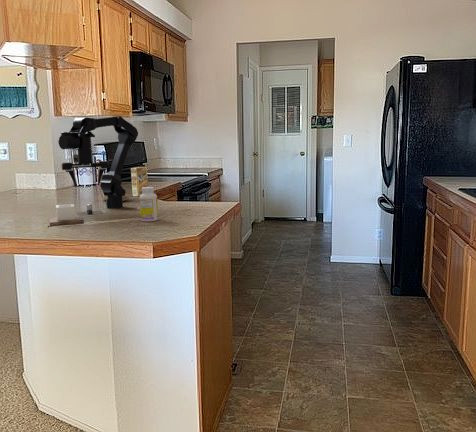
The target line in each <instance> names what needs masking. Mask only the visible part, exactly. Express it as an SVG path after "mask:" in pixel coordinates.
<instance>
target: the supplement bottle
mask: <svg viewBox="0 0 476 432" xmlns="http://www.w3.org/2000/svg"><path fill="white" fill-rule="evenodd" d="M158 207H159V206H158V195H157V194H156V193H155V187H154V186H148V187H143V188H142V194H141V195H140V196H139V208H140V209H139V210H140V211H139V212H140V220H141V221H142V222H147V223H149V222H156V221H158V220H159V209H158Z"/></svg>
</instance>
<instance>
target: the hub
mask: <svg viewBox="0 0 476 432" xmlns="http://www.w3.org/2000/svg"><path fill="white" fill-rule="evenodd" d="M48 220H49V221H48V222H49V227H60V226H71V225H73V226H75V225H82V224H83V225H84V224H85V222H84V218H83V216H81V215H78V214H77V215H76V214H75V219H72V220H60V221H57V216H55V217H54V216H52V217H48Z"/></svg>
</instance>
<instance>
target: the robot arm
mask: <svg viewBox="0 0 476 432" xmlns="http://www.w3.org/2000/svg"><path fill="white" fill-rule="evenodd" d="M111 126H112V127H113V128H114V129H113V130H114V131H115V132H116V133H117V139H118V145H117V148H116V151H115V154H114V158H113V160H112V163H111V165H110V162H109V161H108V160H98V161H97V162H93V150H92V149H93V148H92V138H95V137H96V135H95V134H94V133H93V132H92V131H95V130H96V129H99V128H105V127H111ZM60 134H61V135H60V136H59V138H58V140H57V141H58V146H59V148H60V149H61V150H76V151H77V153H76V154H73V155H72V159H73V162H72V161H71V162H62V163H61V170H62V171H65V172H66V173H68V174H69V176H70V177H71V179H72V180H71V181H72V182H73V185H74V187H75V188H77V182H76V176H75V172H74V170H73V169H81V168H97V186H100V190H101V191H102V193H103V197H104V196H107V199H106V200H105V205H106V207H105V208H106V209H120V208H123V207H124V206H123V205H124V203H123V202H124V201H122V196H126V192H127V191H126V190H125V189H124V188H123V186H122V177H121V173H122V172H123V168H124V165H125V162H126V160H127V158H128V157H127V156H128V152H129V150H130V147H131V146H132V145H133V144H134V143H135V142H136V140H137V138H138V137H139V132H138V129H137V127H135V126H134V125H133V124H132V123H130V122H129V121H127V120H125V118H124V117H123V116H121V115H114V116H113V115H112V116H109V117H99V118H93V117H76V118H74V120H73V121H72V124H71V127H70V128H69V131H61V132H60ZM107 169H109V172H107V173H108V174H105V171H107ZM102 175H103V176H102ZM101 177H102V180H101ZM100 181H101V182H100ZM100 183H101V185H100Z"/></svg>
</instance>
